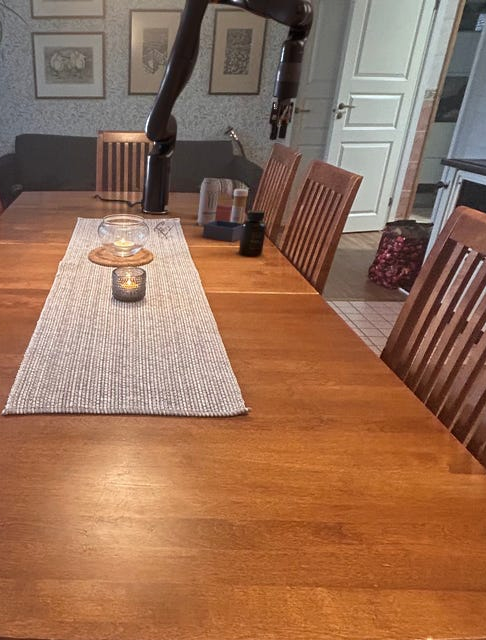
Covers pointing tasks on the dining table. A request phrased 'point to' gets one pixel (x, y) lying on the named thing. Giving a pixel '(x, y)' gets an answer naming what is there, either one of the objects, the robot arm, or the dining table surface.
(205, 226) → the slate bin
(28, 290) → the dining table surface
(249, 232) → the supplement bottle
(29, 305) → the dining table surface
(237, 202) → the sprinkles bottle
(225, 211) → the rose bin
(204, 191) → the energy drink can
